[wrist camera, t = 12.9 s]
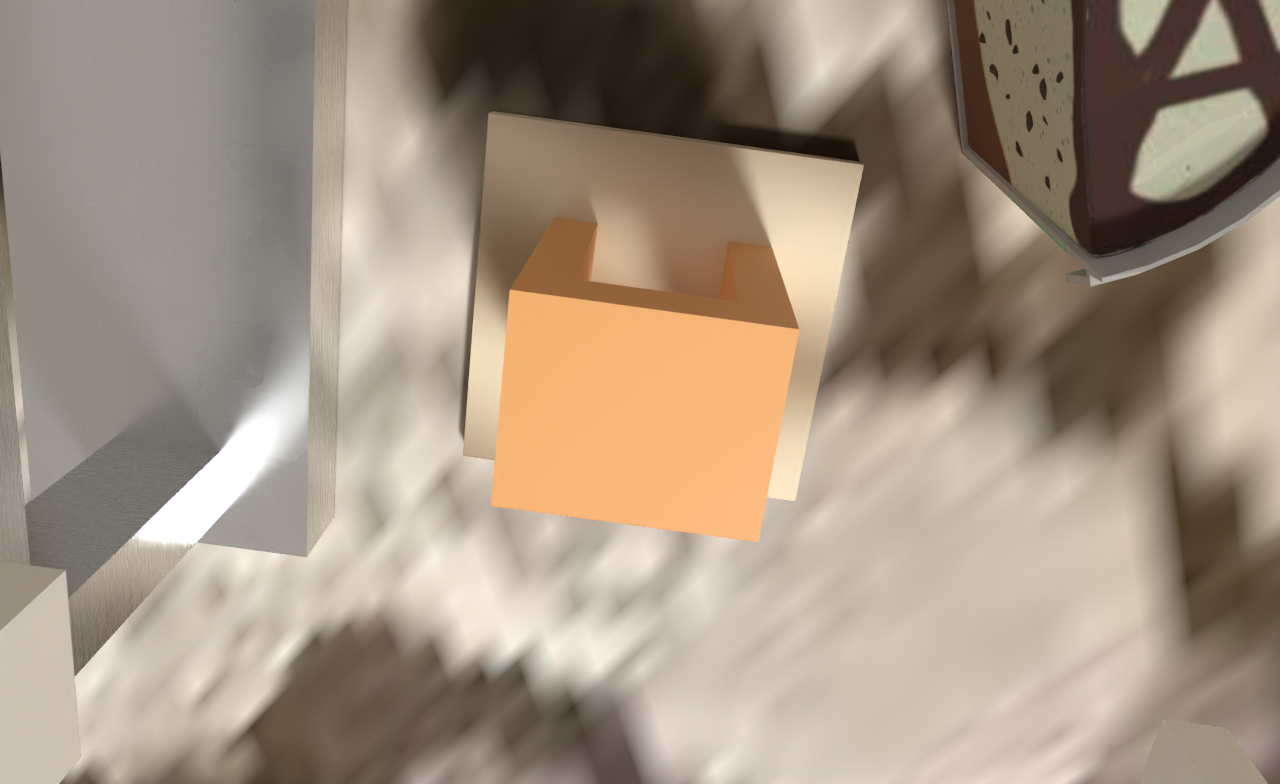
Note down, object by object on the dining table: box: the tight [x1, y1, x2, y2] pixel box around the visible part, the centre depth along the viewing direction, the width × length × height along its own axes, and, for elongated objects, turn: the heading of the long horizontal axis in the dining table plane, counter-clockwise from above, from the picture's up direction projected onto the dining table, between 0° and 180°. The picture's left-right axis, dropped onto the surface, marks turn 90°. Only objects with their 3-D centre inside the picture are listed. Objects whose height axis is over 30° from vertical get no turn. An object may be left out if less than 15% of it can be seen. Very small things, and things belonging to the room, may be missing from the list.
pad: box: [463, 111, 864, 501], centre depth 29 cm, size 10×10×1 cm
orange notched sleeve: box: [491, 218, 799, 542], centre depth 26 cm, size 5×6×8 cm
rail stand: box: [0, 0, 347, 676], centre depth 23 cm, size 20×8×12 cm, turn 173°
